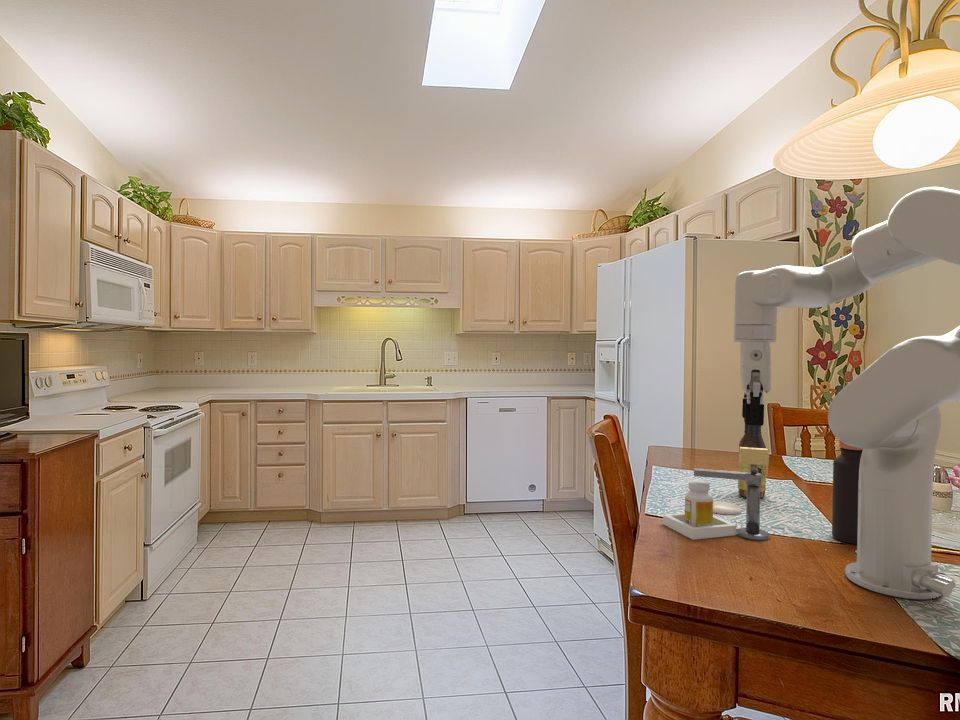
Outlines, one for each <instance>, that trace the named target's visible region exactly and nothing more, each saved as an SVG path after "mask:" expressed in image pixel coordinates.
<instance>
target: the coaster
mask: <svg viewBox="0 0 960 720" xmlns="http://www.w3.org/2000/svg"><path fill="white" fill-rule="evenodd" d="M741 511H742V508H741V506H740V505H738V504H735V503H733V502H726V501H716V500H713V514H716V513H717V514H718V515H725V514H733V515H737V513H738V514H740V513H741Z"/></svg>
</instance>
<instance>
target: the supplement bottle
mask: <svg viewBox="0 0 960 720" xmlns="http://www.w3.org/2000/svg"><path fill="white" fill-rule="evenodd" d="M710 486H711V485H710V482H708V481H705V480H696V479H695V480H694V479H693V480H689V481H688V489H689V490H688V491H686V492H685V494H684V513H685V523H686V524H688V525H690V526H692V527H704V526H713V515H714V513H713V501H714V497H713V494H712V493H710V490H711V489H710Z"/></svg>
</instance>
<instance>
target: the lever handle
mask: <svg viewBox="0 0 960 720" xmlns="http://www.w3.org/2000/svg"><path fill="white" fill-rule="evenodd" d="M740 464H750V472H738V470H737V471H735V470H733V471H732V470H725V469H724V470H723V469H709V468H707V469H706V468H696V467H694V468H693V477H698V478H699V477H700V478H701V477H703V478H712V479H713V478H714V479H724V480H737V481H738V480H745V484H748V485H753V486H760V485H762V474H761V473H757V465H766V466H769V449H768V448H767V447H766V448H750V447H740Z"/></svg>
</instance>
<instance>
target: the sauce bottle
mask: <svg viewBox="0 0 960 720" xmlns="http://www.w3.org/2000/svg"><path fill="white" fill-rule="evenodd" d="M743 423H744V431H743V432H744V434H743V436H742V437H741V438H740V441H739V443H738V444H739V446H738V447H739V448H738V449H739V450H738V451H739V452H738V464H737V466H738V469H737V471H738V472H750V464H740V447H750V448H766V449H767V447H766V444H765V441H764V439H763V438H764V437H763V435H762V426H757V425H746V424H745V418H743ZM757 473H761V474H762V485H760V499H762V498H765V496H766V490H767V489H766V486H767V483H766V482H767V465H757ZM737 488H738V494H739V496H741V497H743V498H747V484H745V480H737Z"/></svg>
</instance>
